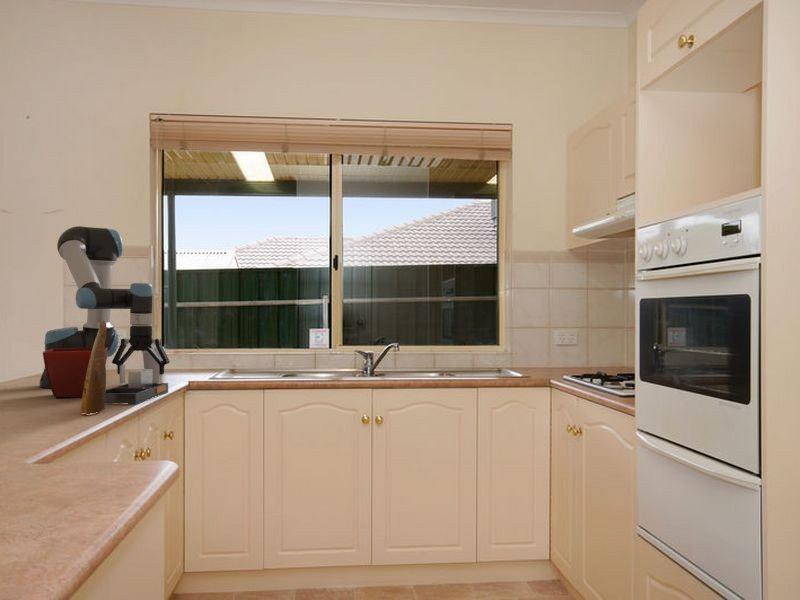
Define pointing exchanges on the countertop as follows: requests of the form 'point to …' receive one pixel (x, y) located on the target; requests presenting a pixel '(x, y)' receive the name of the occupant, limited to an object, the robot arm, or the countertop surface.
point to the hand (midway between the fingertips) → (140, 383)
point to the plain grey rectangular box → (140, 378)
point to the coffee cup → (151, 362)
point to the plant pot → (67, 370)
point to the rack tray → (134, 393)
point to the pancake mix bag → (95, 376)
